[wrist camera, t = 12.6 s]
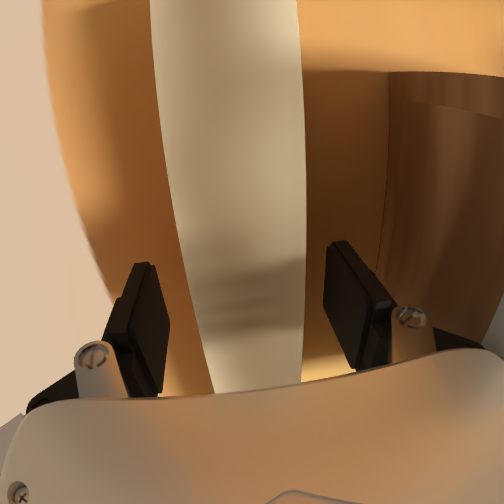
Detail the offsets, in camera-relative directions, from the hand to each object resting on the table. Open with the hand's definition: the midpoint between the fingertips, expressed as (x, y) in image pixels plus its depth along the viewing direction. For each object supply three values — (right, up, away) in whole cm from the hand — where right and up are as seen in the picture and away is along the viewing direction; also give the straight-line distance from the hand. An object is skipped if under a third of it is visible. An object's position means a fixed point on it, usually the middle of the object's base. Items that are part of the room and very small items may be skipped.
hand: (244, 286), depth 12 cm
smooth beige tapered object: (0, +1, +3) cm, 3 cm away
